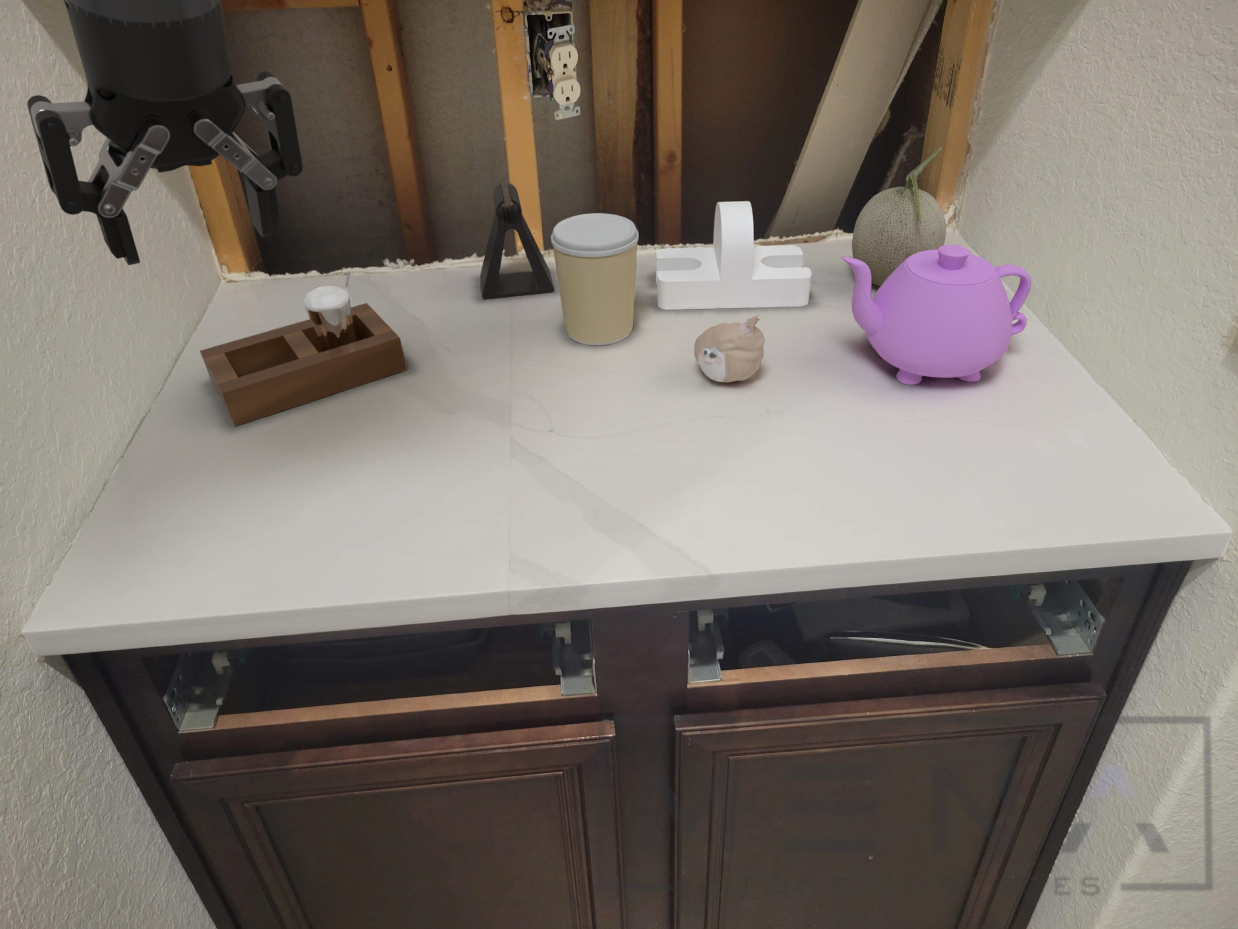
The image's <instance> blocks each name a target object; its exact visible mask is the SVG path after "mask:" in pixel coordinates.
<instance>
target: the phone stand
mask: <svg viewBox="0 0 1238 929" xmlns="http://www.w3.org/2000/svg"><path fill="white" fill-rule="evenodd" d="M507 189H508V194H509V198H510V202H511V204H508V205H506V204H505V203H506V202H505V197H504V190H503V186H502V184H501V183H499V184H497V185H496V186H495V188H494V190H493V193H492V194H493V195H492V196H493V202H494V214H493V219H492V223H491V226H490V230H489V236H488V240H487V244H486V247H485V248H486V249H485V253H484V257H483V261H482V265H481V270H480V274H479V280H480V291H481V298H482V299H483V300H491V299H501V298H511V297H517V296H518V295H519V296H530V295H538V294H539V295H541V294H548V293H553V292H554V291H555V286H554V283H553V280H552V275H551V272H550V268H549V266H548V264H547V262H546V260H545V258H544V256H543V254H542V251H541V249H540V248H539V246H538V244H537V241H536V239H535V237H534V235H533V233H532V231H531V229H530V227H529V225H528V223H527V221H526V219H525V217H524V215H523V209H522V205H521V201H520V197H519V192H518V189H517V187H515V186H514V185H513V184H512V183H511V182H508V183H507ZM503 204H504V205H503ZM509 230H514V231H516V233H517V235H518V238H519V240H520V243H521V245H522V249H523V250H524V253H525V255H526V258H527V260H528V263H529V267H530V268H531V271H521V272H512V273H503V274H501V266H502V259H503V253H504V247H505V239H506V234H507V232H508V231H509Z"/></svg>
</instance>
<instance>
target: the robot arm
mask: <svg viewBox="0 0 1238 929" xmlns="http://www.w3.org/2000/svg"><path fill="white" fill-rule="evenodd" d="M63 2H64V6H65V8H66V12H67V16H68V20H69V22H70V27H71V30H72V33H73V36H74V40H75V43H76V47H77V50H78V54H79V57H80V61H81V65H82V68H83V72H84V75H85V78H86V84H87V90H86V94H85V98H84V101H72V102H71V101H70V102H54V103H52V101H51V100H50V99H49V98H48V97H46V96H44V95H40V94H36V95H32V96H30V97H29V98H28V100H27V102H26V105H27V110H28V113H29V118H30V120H31V124H32V128H33V132H34V135H35V139H36V143H37V146H38V150H39V153H40V157H41V161H42V164H43V169H44V170H45V171H44V172H45V175H46V179H47V182H48V185H49V188H50V190H51V192H52V193H53V194H54V195H55V197H56V199H57V202H58V205H59V206H60V208H61V210H62V211H63V212H64V213H65V214H67V215H70V216H71V215H73V216H75V215H79V214H81V213H82V212H86V213H87V212H88V213H91V214H94V215H95V216H96V218H97V222H98V225H99V227H100V231H101V234H102V237H103V240H104V243H105V244H106V246H107V247H108V249H109V251H110V254H112V255H113V257H115V258H116V259H124V261H125V262H126V264H127V266H132V265H137V264H141V260H140V256H139V252H138V248H137V246H136V242H135V239H134V235H133V231H132V227H131V225H130V221H129V218H128V216H127V213H126V211H125V210H124V206H125V204H126V203H127V201H128V199H129V197H130V195H131V194H132V192H133V191H138V190H139V189H140V187H141V185H142V184H143V182H144V180H145V178H146V177H147V174H148V173H149V172H150V170H151V169H154V170H156V171H157V172H158V174H159V173H160V174H161V173H165V172H166V173H167V172H172V171H175V170H177V169H180V168H183V167H185V166H188V167H204V166H211V165H213V161H214V160H215V159H217V158H218V157H219V156H221V157H222V158H223V159H225V160H226V161H227V162H228V163H230V165H232V166H233V167H234V168H235V169H237V171H239V172H240V173H242V174H244V175H243V177H244V184H245V190H246V191H245V192H246V195H247V196H246V197H247V202H248V203H247V204H248V210H249V216H250V221H251V223H252V225H253V227H254V228H255V230H256V231H257V233H258V234H259V235H260V237H261V238H266V237H270V236H273V235H274V230H273V228H275V227H278V226H279V223H280V219H281V218H280V212H279V204H278V197H277V188H276V187H277V184H278V182H280V180H281V179H284V178H286V177H287V176H289V177H293V178H294V177H297V176H299V175H300V174H302V172H303V168H304V166H303V161H302V160H303V159H302V154H301V149H300V148H301V147H300V143H299V137H298V130H297V125H296V120H295V119H296V117H295V113H294V112H295V111H294V108H293V100H292V96H291V94H290V92H289V91H288V90H287V88H285V86H284V85H283V84H282V82H280V80H279V79H278V78H277V77H276V76H275V74H273V72H271V71H267V70H264V71H261V72H260V73H259V74H258V75H257V76H256V81H252V82H245V83H239V84H236V83H235V80H234V75H233V67H232V62H231V61H232V60H231V55H230V48H229V42H228V35H227V30H226V23H225V22H226V21H225V16H224V10H223V3H222V0H63ZM246 107H251V108H252V110H253V111H254V112H255V113H256V115H257V116H258V118H260V119H261V120H263V122H264V127H265V132H266V137H267V142H268V147H269V150H268V151H266V152H263V153H262V154H260V155H259V154H257V152H256V151H254V150H253V149H252V148H251V147H250V146H249V145H248V144H247V143H245V141H243V139H241V138H240V137H239V135H237V133H235V130H236V128H237V126H238V124H239V123H240V121H241V119H242V117H243V115H244V114H245V111H246ZM90 126H93V127H94V129H96V130H97V131H98V132H99V133H100V134H102V135H103V136H104V137H105V140H104V142H103V143H102V146H101V147H100V150H99V153H98V162H97V164H96V166H95V168H94V169H93V172H92V173H91V175H90V177H89V178H88V181H85V180H79V176H78V173H77V168H76V164H75V161H74V157H73V156H74V155H73V152H72V148H74V147H78V145H79V144H80V143H81V142H82V140H83V131H84V129H86V128H87V127H90ZM71 147H72V148H71Z"/></svg>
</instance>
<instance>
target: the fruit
mask: <svg viewBox="0 0 1238 929" xmlns="http://www.w3.org/2000/svg"><path fill="white" fill-rule="evenodd" d="M941 151H942V146H940V147H939V148H937V149H936V150H935V151H934V152H933V153H932V154H931V155H929V156H928V157H926V159H925V160H923V161H922V162H921V163H920V164H918V165H917V167H916V168H914V169H912V170H911V172H909V173H908V174H907V176H906V178H905V182H906V183H905V186H895V187H890V188H888V189H884V190H882V191H880V192H878V193H877V194H875V195H874V196H872V197H871V198H870V200H868V201H867V202H866V204H865V205H864V206H863V207H862V209H861V211H860V212H859V215H858V217H857V219H856V221H855V224H854V228H853V231H852V239H851V252H852V258H854V259H858V260H860V261H863V262H864V263H866V264H867V265H868V267H869V269H870V272H871V284H873V285H875V286H878V287H881V285H882V284H883V283H884V282H885V280H886V279H887V278H888V277H889V276H890V275H891V274H892V273H893V272H894V271H895V270H896V268H897V267H898V266H899V265H900V264H902V263H903V262H904V261H905V260H906V259H907V258H908V257H910V256H912V255H914V254H916V253H918V252H922V251H927V250H938V248H939V247H940V246H943V245H945V241H946V237H947V223H946V218H945V214H944V211H943V208H942V207H941V205H940V203H939V202H938V201H937V199H936V198H935V197H934V196H933V195H932V194H930V193H928V192H927V191H925V190H923V189H920V188H919V187H918V181H917V177H918V175H919V174H920V173H921V172H922V171H923V170H924V169H925V168H926V167H927V166H928V164H930V162H932V161H933V160H934V158H936V156H938V154H939V153H940V152H941Z"/></svg>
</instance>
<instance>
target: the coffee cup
mask: <svg viewBox="0 0 1238 929" xmlns="http://www.w3.org/2000/svg"><path fill="white" fill-rule="evenodd" d="M639 236H640V235H639V230H638V229H637V227H636V224H635V223H634V222H633V221H632V220H631V219H629V218H627V217H624V216H622V215H619V214H612V213H604V212H603V213H602V212H597V213H595V212H594V213H584V214H577V215H574V216H570V217H567V218H564V219H562V220H561V221H558V223H556V225H555V226H554V228H553V230H552V233H551V235H550V240H551V241H550V243H551V245H552V247H553V255H554V256H553V258H554V263H555V268H556V277H557V284H558V289H559V296H560V303H561V309H562V317H563V322H564V327H565V332H566V335H567V336H568V338H570V339H571V340H573V341H574V342H576V343H578V344H579V343H580V344H581V345H588V346H607V345H612V344H615V343H619V342H622V341H623V340H625V339H626V338H628V337H629V336H630V335H631V333H632V332H633V325H634V314H635V313H634V312H635V297H636V280H637V278H636V276H637V261H638V260H637V258H638V256H637V255H638V242H639Z"/></svg>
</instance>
